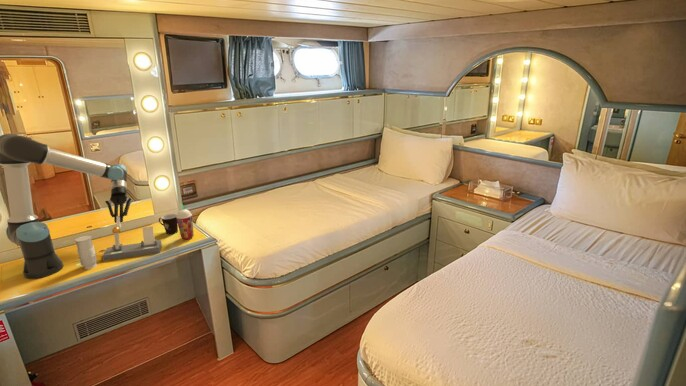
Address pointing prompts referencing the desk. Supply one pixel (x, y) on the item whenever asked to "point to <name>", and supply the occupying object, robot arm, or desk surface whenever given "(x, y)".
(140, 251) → the switch console
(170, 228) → the coffee mug
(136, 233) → the desk surface
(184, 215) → the smoothie
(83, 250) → the candle
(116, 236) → the steel toggle
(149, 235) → the white flat upright panel
